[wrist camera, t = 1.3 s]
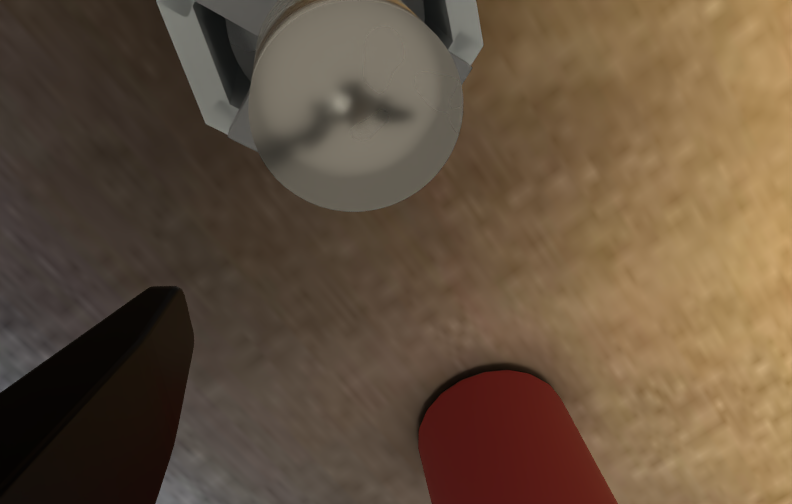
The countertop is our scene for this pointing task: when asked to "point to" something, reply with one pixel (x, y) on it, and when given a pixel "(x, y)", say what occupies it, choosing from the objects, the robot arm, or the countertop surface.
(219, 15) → the grey faceted drum
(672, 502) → the countertop surface
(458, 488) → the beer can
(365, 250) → the countertop surface
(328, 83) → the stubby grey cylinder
